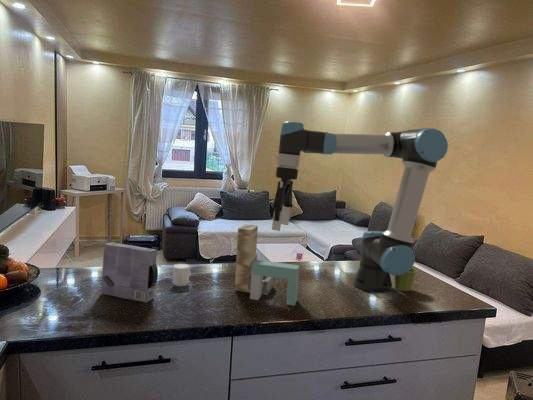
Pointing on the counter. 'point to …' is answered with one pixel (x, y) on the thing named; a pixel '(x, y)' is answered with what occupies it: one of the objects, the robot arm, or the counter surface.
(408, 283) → the plant pot
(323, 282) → the counter surface
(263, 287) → the post
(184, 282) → the white cylinder
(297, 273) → the rail
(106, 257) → the cake pan box
